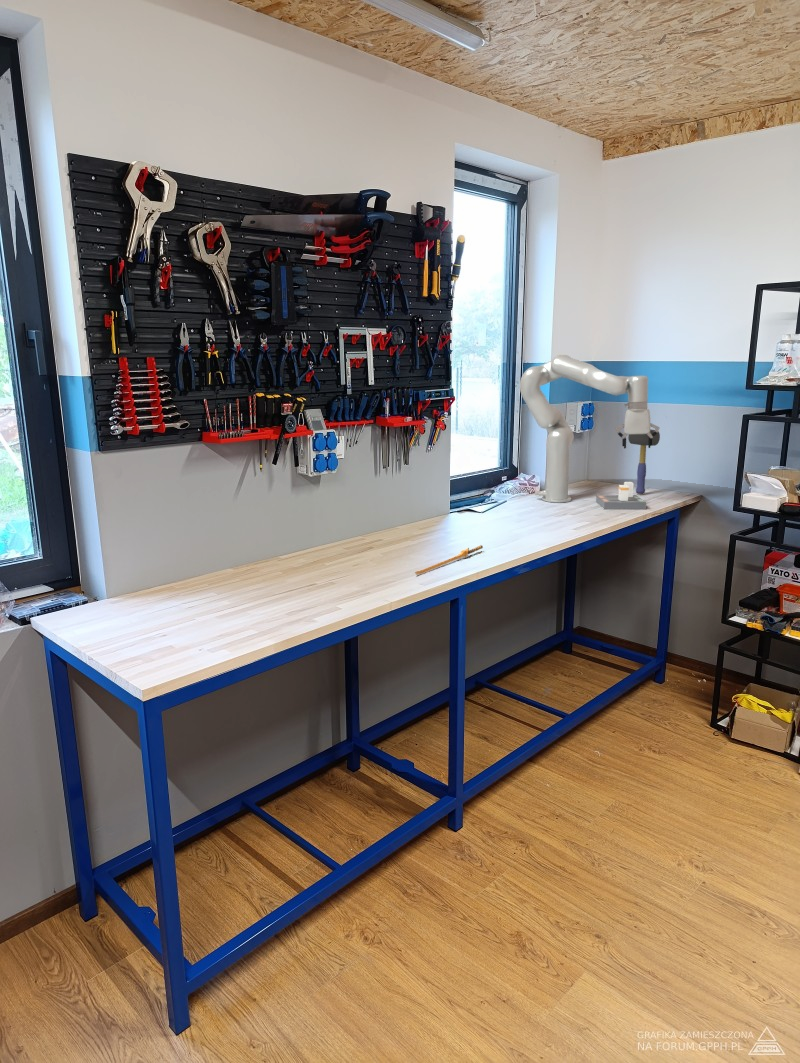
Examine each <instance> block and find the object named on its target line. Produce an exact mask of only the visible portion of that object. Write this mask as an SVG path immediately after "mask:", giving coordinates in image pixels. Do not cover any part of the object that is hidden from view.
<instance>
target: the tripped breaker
mask: <svg viewBox="0 0 800 1063" xmlns="http://www.w3.org/2000/svg"><path fill="white" fill-rule="evenodd" d="M628 491H629V486H627V485H624V484H618V499H619V500H620V501H628Z"/></svg>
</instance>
